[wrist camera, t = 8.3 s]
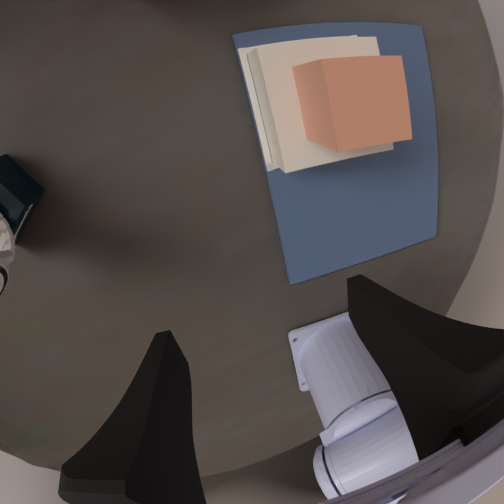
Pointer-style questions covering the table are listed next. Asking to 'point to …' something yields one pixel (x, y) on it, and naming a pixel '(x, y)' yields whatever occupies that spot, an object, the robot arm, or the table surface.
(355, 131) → the terracotta block
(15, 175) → the watch
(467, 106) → the table surface
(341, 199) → the blueprint board
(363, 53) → the base block
